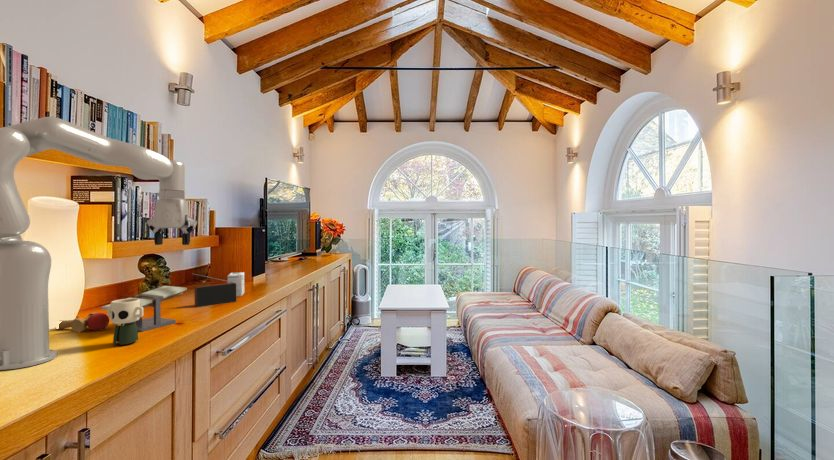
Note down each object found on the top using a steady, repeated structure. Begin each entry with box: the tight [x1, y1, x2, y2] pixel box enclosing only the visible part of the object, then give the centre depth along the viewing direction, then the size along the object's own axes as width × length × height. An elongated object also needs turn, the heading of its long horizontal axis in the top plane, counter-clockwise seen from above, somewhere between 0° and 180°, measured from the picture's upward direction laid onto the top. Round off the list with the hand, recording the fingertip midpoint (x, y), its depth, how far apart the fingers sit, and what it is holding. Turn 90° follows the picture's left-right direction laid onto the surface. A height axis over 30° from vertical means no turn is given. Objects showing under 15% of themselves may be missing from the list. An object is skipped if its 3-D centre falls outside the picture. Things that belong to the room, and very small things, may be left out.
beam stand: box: [134, 294, 177, 333], centre depth 138 cm, size 12×12×10 cm
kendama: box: [58, 312, 110, 333], centre depth 133 cm, size 8×6×18 cm
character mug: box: [106, 297, 144, 345], centre depth 117 cm, size 11×7×13 cm, turn 88°
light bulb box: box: [227, 271, 245, 297], centre depth 196 cm, size 11×7×11 cm, turn 17°
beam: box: [100, 285, 188, 311], centre depth 137 cm, size 22×12×3 cm, turn 158°
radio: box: [190, 272, 237, 308], centre depth 174 cm, size 19×3×15 cm, turn 136°
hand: (172, 244), depth 137 cm, fingers open, 9 cm apart
